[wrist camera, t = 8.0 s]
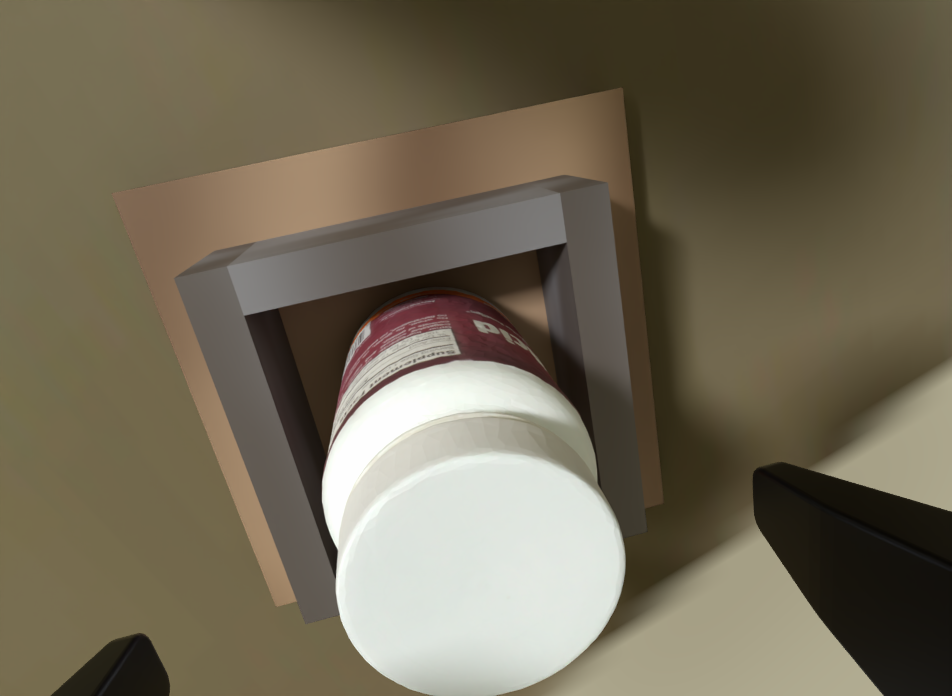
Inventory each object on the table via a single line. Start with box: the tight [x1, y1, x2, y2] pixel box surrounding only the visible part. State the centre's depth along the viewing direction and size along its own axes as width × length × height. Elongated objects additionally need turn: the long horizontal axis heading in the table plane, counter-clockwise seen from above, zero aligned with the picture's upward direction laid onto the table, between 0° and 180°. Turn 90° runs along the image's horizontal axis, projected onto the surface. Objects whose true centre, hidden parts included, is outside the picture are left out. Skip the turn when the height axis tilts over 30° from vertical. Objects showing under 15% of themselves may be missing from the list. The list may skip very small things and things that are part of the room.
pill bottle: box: [322, 287, 626, 696], centre depth 12 cm, size 5×5×8 cm
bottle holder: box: [112, 87, 664, 624], centre depth 15 cm, size 12×12×4 cm
